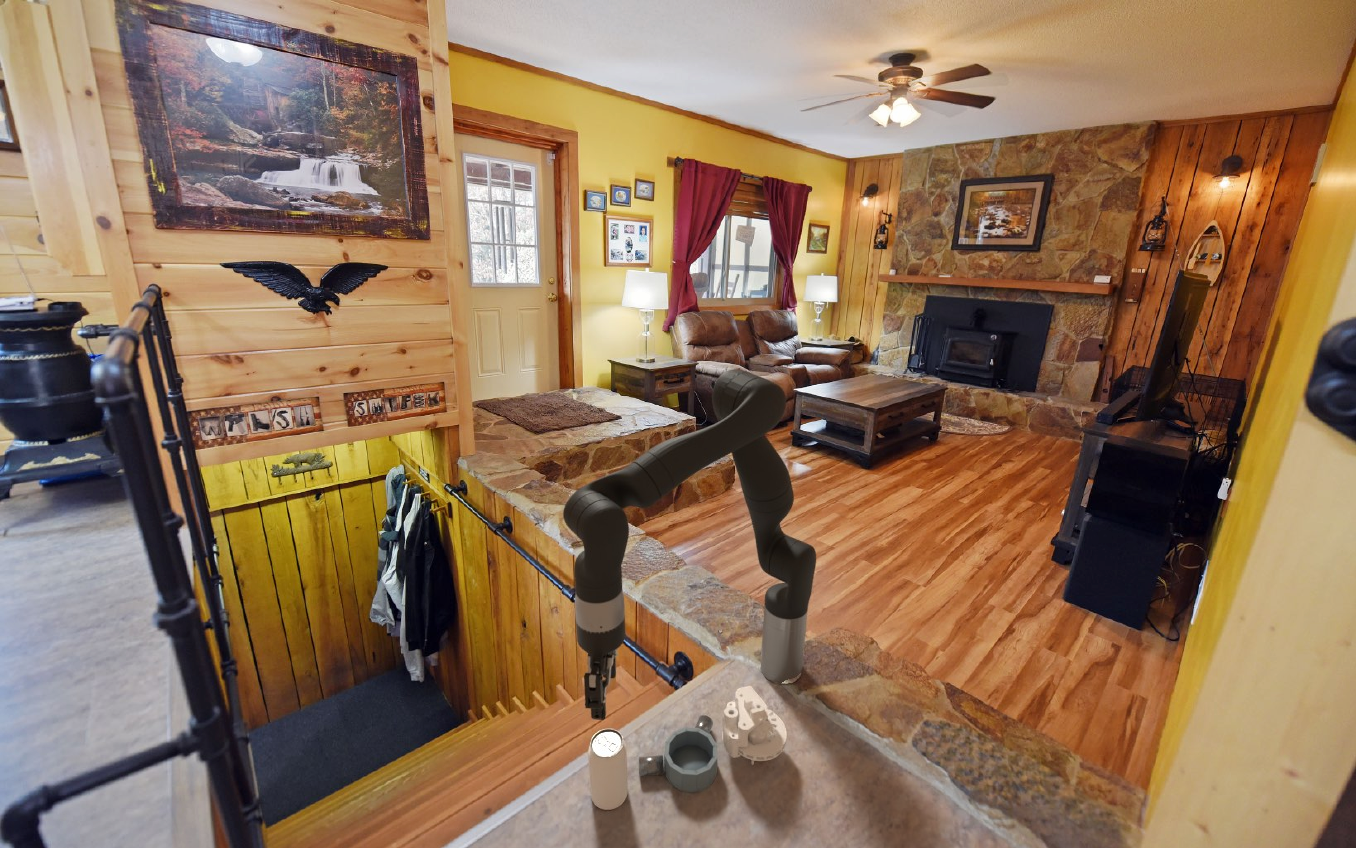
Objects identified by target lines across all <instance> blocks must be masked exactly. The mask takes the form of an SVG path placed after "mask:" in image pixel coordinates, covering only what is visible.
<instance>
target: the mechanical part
mask: <svg viewBox="0 0 1356 848" xmlns="http://www.w3.org/2000/svg"><path fill="white" fill-rule="evenodd" d="M734 696H735V697H734V701H728V702H727V703H726V708H724V710H723V717H722V726H721V727H722V728H721V738H722V743H723V747H724V750H725V751H726V753H727V754H728V755H729V756H731V757H732V758H733V759H734V758H740V757H741V756H742V757H743V758H745V759H748V760H751V763H750V764H751V765H752V766H753V765H755V762H764V761H766V762H767V761H770V760H773V759H775V758H778V756H779V755H781V754H782V753H783V751H784V749H785V747H786V744H787V737H788V736H787V729H786V725H785V723H784V722H783V720H782V719H781V718H780V716H779V715H777V713H775V712H774V711H773V710H771V709H768V705H767V704H766V702H765V701H764V700H763V699H762V698H761V696H760V695H759V694H758V693H757V691H755V689H754V688H753V687H752V686H751V685H746V686H742V687H739V688H737V690H736V691H735V693H734Z"/></svg>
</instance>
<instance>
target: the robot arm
mask: <svg viewBox="0 0 1356 848" xmlns="http://www.w3.org/2000/svg"><path fill="white" fill-rule="evenodd" d="M711 395H712V396H711V397H712V398H711V400H712V408H713V412H714V415H715V416H716V419H717V421H718V422H715V423H714V424H712V425H709V426H707V427H705V428H702V429H698V430H696V431H693V432H688V433H686V434H681V435H679V436H676V437H672V438H669V439H667V440H664V441H662V442H660V443H658V444H656V445H655V446H653V447H652V448H650V449H649V450H647V451H646V452H644V453H643V454H641V455H640V456H639V457H637V458H635V460H633V461H632V462H631V463H629V464H628V465H626V466H625V467H624V468H622V469H620V470H619V469H618V470H617V471H613V472H611V473H609V474H607V475H604V476H602V477H599V478H597V479H595V480H593V481H590V482H589V483H586V484H585V485H583V486H581V487H580V488H578V489H577V490H576V491H575V492H574V493H573V494H572V495H571V496H570V497H569V498H568V500H567V501H566V502H565V504H564V507H563V511H562V516H563V521H564V523H565V525H566V526H567V528H568V529H569V530H570V531H571V532H572V533H573V534H575V536H576V537H577V538H578V539H579V540H580V541H581V542H582V546H583V551H581V552H580V553H579V554H578V555H577V557H576V559H575V561H574V570H573V571H574V574H573V575H574V576H573V577H574V590H575V594H574V595H575V598H574V615H575V627H576V628H575V629H576V630H575V631H576V641H577V644H578V646H579V647H580V649H582V650H583V651H584V652H585V653H586V654H587V659H586V665H587V672H585V673H584V675H583V682H584V684H583V685H584V687H583V688H584V706H585V709H590V718H591V719H592V720H595V721H598V720H599V721H604V720H605V719H606V717H607V706H606V701H607V687H608V686H609V685H610V683H611V679H615V678H616V675H617V664H616V663H617V662H616V658H617V656H618V650H619V648H620V647H621V646H622V645H623V644H624V641H625V640H626V612H625V610H626V609H625V605H626V604H625V596H624V592H623V591H624V590H623V573H622V572H623V569H622V564H623V561H624V558H625V555H626V550H627V547H628V546H627V545H628V541H629V535H630V527H629V526H630V525H629V520H628V517H627V515H626V513H625V511H624V510H623V509H626V508H628V507H635V508H639V509H648V508H651V507H652V506H653V505H655V504H656V503H658V502H659V501H661V500H662V499H663V498H664V497H666V496H667V495H668V494H670V492H672V491H674V490H675V489H676V488H677V487H678V486H679V485H681V484H682V483H684V482H685V481H686V480H688V479H689V478H690V477H692V476H694V475H695V474H697V473H698V472H700V471H702V470H703V469H705V468H706V467H708V466H710V465H711V464H714V463H715V462H717V461H719V460H720V459H722V458H724V457H726V456H729V455H730V454H731V456H732V460H733V463H734V465H735V466H734V467H735V469H736V472H737V477H739V478H738V479H739V482H740V487H741V490H742V495H743V496H744V500H745V503H746V506H747V509H748V513H749V516H750V520H751V524H752V530H753V532H754V539H755V545H756V553H757V559H758V563H759V565H760V568H761V570H762V571H763V572H764V573H765V574H767V575H768V576H771V577H773V578H774V579H777V580H779V581H781V582H779V583H776V584H772V585H771V586H770V587H768V588H767V590H766V591H765V594H764V605H763V606H764V607H763V608H764V609H763V620H762V621H763V625H762V637H761V639H762V640H761V653H760V664H761V667H760V671H761V670H762V671H761V673H762V674H763V676H764V677H765V678H766V679H767V680H769V681H770V682H773V683H775V684H778V685H780V684H779V683H782V682H784V681H785V680H788V679H792V678H795V677H797V676H798V675H799V674H800V673H801V670H802V671H803V662H804V661H803V660H804V652H805V643H806V642H805V641H806V631H807V623H808V621H807V619H808V610H809V603H810V600H811V596H812V591H813V583H814V578H815V577H814V576H815V570H816V564H817V551H816V549H815V547H814V546H813V545H811V544H809V543H807V542H805V541H802V540H800V539H798V538H794V537H792V536H789V535H788V534H786V533H784V531H783V530H782V527H781V523H782V522H783V520H784V519H785V518H786V517H787V516H788V514H789V513H790V512H791V510H792V508H793V505H794V502H795V501H794V499H795V497H794V496H795V495H794V489H793V484H792V480H791V475H790V472H789V470H788V467H787V465H786V464H785V461H784V460H783V458H782V457H781V455H780V454H779V453H778V451H777V450H776V448H775V446H774V445H773V444H772V443H771V441H770V440H769V439H768V437H767V436H766V434H767V433H769V432H770V431H772V430H773V429H774V428H775V427H776V426H777V425H778V424H779V422H780V421H782V419H783V417H784V414H785V411H786V408H787V398H786V397H787V396H786V393H785V391H784V388H782V387H781V386H780V385H779V384H778V383H776V382H773V381H771V380H769V379H766V378H764V377H762V376H759V375H757V374H754V373H753V372H750V371H747V370H743V369H738V368H737V369H735V368H734V369H733V368H732V369H729V370H726V371H724V372H723V373H721V374H720V376H718V378H717V379H716V381H715V384H714V386H713V390H712V394H711ZM801 674H802V673H801ZM603 678H604V679H603Z"/></svg>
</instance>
